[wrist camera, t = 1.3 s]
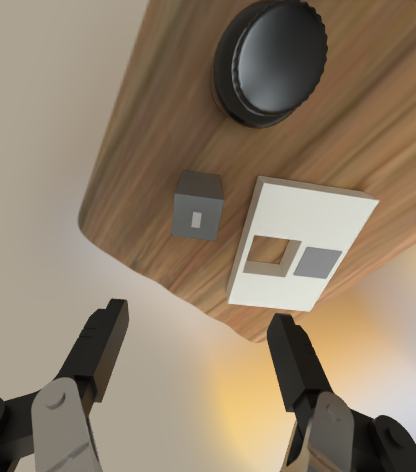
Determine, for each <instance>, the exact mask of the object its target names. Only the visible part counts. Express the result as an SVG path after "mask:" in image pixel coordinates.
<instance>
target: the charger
mask: <svg viewBox="0 0 416 472" xmlns="http://www.w3.org/2000/svg"><path fill="white" fill-rule="evenodd" d="M223 203H224V197H223V192H222V187H221V181H220V176H219V175H213V174H207V173H200V172H194V171H187V170H183V171H182V174H181V177H180V180H179V183H178V185H177V188H176V191H175V195H174V209H173V223H172V236H179V237H187V238H195V239H203V240H211V241H216V237H217V232H218V227H219V223H220V218H221V213H222V208H223Z"/></svg>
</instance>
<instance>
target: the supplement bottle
mask: <svg viewBox="0 0 416 472" xmlns="http://www.w3.org/2000/svg"><path fill="white" fill-rule="evenodd" d="M326 43H327V35H326V33H325V25H324V24H323V23H322V20H321V16H320V15H319V14H317V13H316V10H315V8H313V7H310V6H309V5H308V3H307V2H301V1H300V0H260V1H257V2H255V3H253V4H251V5H249V6H247V7H246V8H244V9H243V10H242V11H241V12H240V13H238V14H237V15H236V16H235V18H234V19H233V20H232V21H231V22H230V24H229V25H228V27H227V28H226V30H225V31H224V33H223V35H222V37H221V39H220V42H219V44H218V47H217V50H216V53H215V57H214V61H213V65H212V70H211V78H210V85H211V92H212V96H213V99H214V101H215V103H216V105H217V107H218V108H219V110H220V111H221V112H222V113H223V114H224V115H225V116H227V117H228V118H230V119H231V120H233V121H234V122H236V123H238V124H240V125H242V126H245V127H248V128H255V129H260V128H267V127H270V126H273V125H276V124H278V123H280V122H281V121H283V120H284V119H286V118H287V117H288V116H290V115H291V114H292V113H293V112H294V111H295V110H296V109H297V107H299V106H300V105H301V104H302V103H303V102H304V101H306V100H307V99H308V97H309V95H310V94H311V93H313V92H314V90H315V87H316V85H317V84H318V83H319V82H320V77H321V75H322V74H323V72H324V65H325V63H326V61H327V57H326V54H327V50H328V46H327V44H326Z"/></svg>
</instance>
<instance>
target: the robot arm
mask: <svg viewBox="0 0 416 472" xmlns="http://www.w3.org/2000/svg"><path fill="white" fill-rule="evenodd" d="M128 323H129V313H128V303H127V300H123V299H122V300H121V299H111V300H110V302H109V304H108V305H107V308H106V309H98V310H97V311H95V312H94V313H93V314H92V315H91V316H90V317H89V319H88V321H87V323H86V324H85V326H84V329H83V330H82V331H81V333H80V335H79V338H78V339H77V341H76V342H75V344H74V346H73V348H72V350H71V351H70V353H69V355H68V357H67V359H66V361H65V362H64V364H63V366H62V368H61V370H60V371H59V373H58V374H57V376H56V377H55V378H54V379H53V380H52V381H51V382H50V383H48V384H47V385H46V386H45V387H43V388H42V389H40V390H39V391H37V392H34V393H31V394H28V395H25V396H21V397H18V398H14V399H10V400H7V401H3V400H2V399H1V398H0V472H14V471H15V468H16V466H17V464H18V462H19V460H20V458H22V457H25V456H28V455H30V454H33V453H35V467H36V472H103V470H102V468H101V464H100V460H99V456H98V452H97V448H96V444H95V439H94V435H93V431H92V427H91V423H90V419H89V414H90V411H91V408H92V405H93V403H94V402H100V403H101V402H102V399H103V396H104V394H105V391H106V388H107V385H108V382H109V379H110V376H111V374H112V371H113V368H114V365H115V362H116V359H117V357H118V354H119V351H120V348H121V345H122V342H123V340H124V337H125V334H126V331H127V328H128ZM267 341H268V345H269V349H270V352H271V356H272V360H273V364H274V368H275V372H276V375H277V379H278V383H279V387H280V390H281V394H282V398H283V402H284V406H285V409H286V412H295V415H296V419H297V420H296V421H295V424H294V427H293V431H292V434H291V438H290V441H289V445H288V448H287V452H286V455H285V458H284V462H283V466H282V468H281V470H280V472H416V444H415V442H414V441H413V439H412V437H411V436H410V434H409V433H408V432H407V430H406V429H405V428H404V427H403V426H402V425H401V424H400V423H398V422H397V421H396V420H394V419H392V418H391V417H388V416H385V415H380V416H378V417H377V418H375V419H373V418H371V417H368V416H366V415H364V414H361V413H359V412H357V411H354V410H352V409H350V408H349V407H348V406H347V404H346V403H345V402H344V401H343V400H342V399H341V398H340V397H339V396H337V395H336V394H335V393H334V392H333V391H332V388H331V386H330V384H329V382H328V380H327V377H326V375H325V373H324V371H323V368H322V366H321V364H320V362H319V359H318V357H317V355H316V353H315V350H314V348H313V347H312V344H311V341H310V339H309V337H308V335H307V333H306V332H305V331H304V330H303V329H302V327H301V326H300V325H295V323H294V320H293V318H292V316H291V315H290V314H282V313H275V315H274V317H273V319H272V321H271V323H270V325H269V327H268V330H267Z"/></svg>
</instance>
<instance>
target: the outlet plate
mask: <svg viewBox="0 0 416 472" xmlns="http://www.w3.org/2000/svg"><path fill="white" fill-rule="evenodd" d="M378 202H379V200H377V199H376V198H374V197H372V196H370V195H368V194H366V193H365V192H362V191H356V190H349V189H343V188H336V187H330V186H324V185H317V184H311V183H304V182H298V181H292V180H285V179H279V178H272V177H266V176H259V175H258V178H257V182H256V185H255V189H254V192H253V196H252V200H251V203H250V207H249V210H248V214H247V217H246V221H245V225H244V228H243V232H242V235H241V239H240V242H239V246H238V249H237V253H236V257H235V260H234V264H233V267H232V271H231V274H230V278H229V282H228V285H227V289H226V292H227V301H228V303H229V304H239V305H249V306H259V307H269V308H279V309H289V310H299V311H309V312H310V311H311V309H312V307H313V306H314V304H315V303H316V301H317V299H318V298H319V296H320V295H321V293H322V291H323V290H324V288H325V287H326V285H327V283H328V282H329V280H330V279H331V277H332V275H333V274H334V272H335V271H336V269H337V267H338V266H339V264H340V263H341V261H342V259H343V258H344V256H345V255H346V253H347V251H348V250H349V248H350V247H351V245H352V243H353V242H354V240H355V239H356V237H357V235H358V234H359V232H360V231H361V229H362V227H363V226H364V224H365V223H366V221H367V219H368V218H369V216H370V215H371V213H372V212H373V210H374V208H375V207H376V205H377V204H378ZM254 235H259V236H267V237H275V238H282V239H290V240H289V243H288V245H287V247H286V250H285V252H284V254H283V257H282V259H281V261H280V264H272V263H263V262H255V261H246V259H247V256H248V253H249V250H250V247H251V244H252V240H253V237H254Z"/></svg>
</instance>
